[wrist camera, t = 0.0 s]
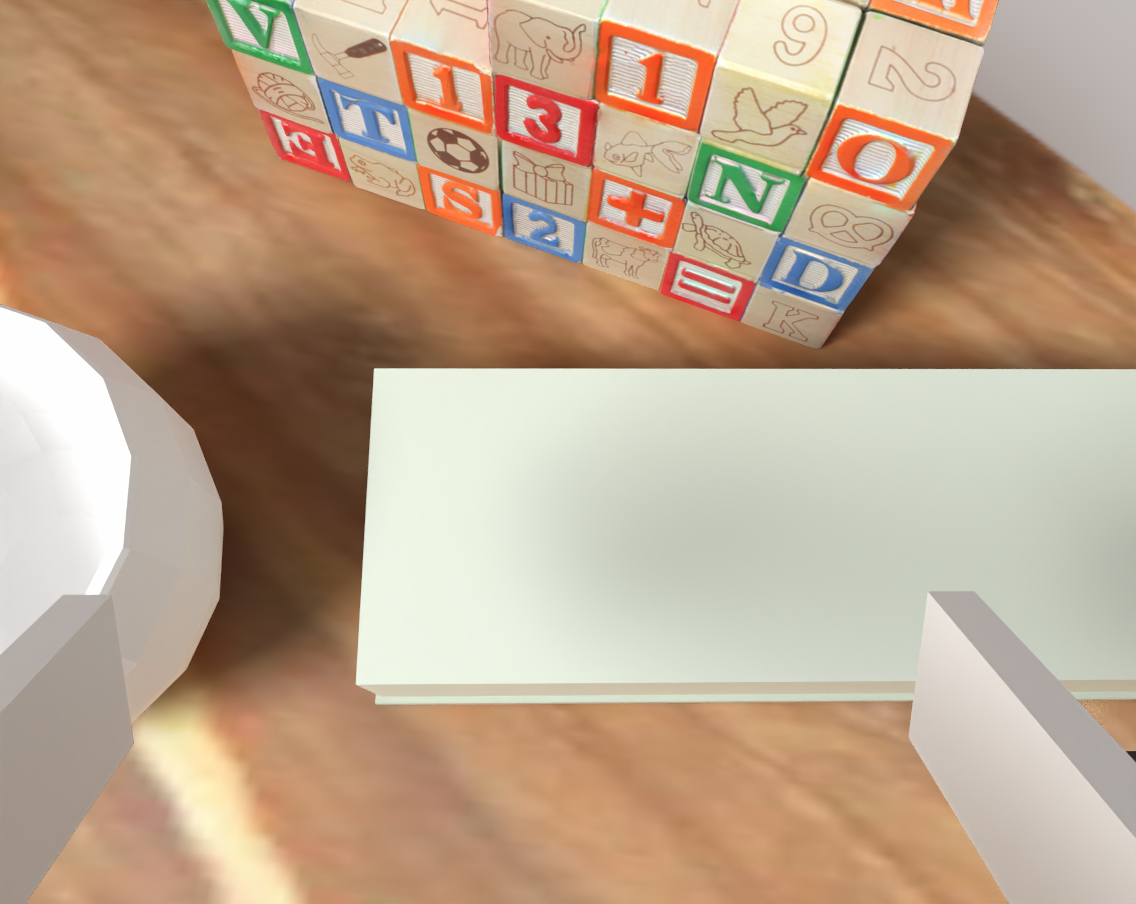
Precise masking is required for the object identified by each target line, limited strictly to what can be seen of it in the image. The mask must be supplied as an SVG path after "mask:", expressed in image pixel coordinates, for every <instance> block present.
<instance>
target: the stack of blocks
mask: <svg viewBox="0 0 1136 904" xmlns="http://www.w3.org/2000/svg"><path fill="white" fill-rule="evenodd" d="M998 1H999V0H206V2H207V4H208V6H209V9H210V11H211V14H212V16H213V18H214V20H215V22H216V24H217V27H218V29H219V32H220V34H221V36H222V38H223V41H224V43H225V44H226V46H227V47H229V48H230V49H232V53H233V55H234V58H235V61H236V63H237V66H238V68H239V71H240V73H241V75H242V77H243V80H244V82H245V85H246V87H247V89H248V92H249V94H250V96H251V99H252V102H253V104H254V106H255V107H257V108H258V110H259V113H260V116H261V119H262V121H263V123H264V126H265V128H266V131H267V134H268V136H269V138H270V140H271V143H272V145H273V147H274V149H275V151H276V153H277V155H278V157H279V158H280V159H283V160H285V161H289V162H292V163H295V164H298V165H301V166H304V167H307V168H310V169H313V170H316V171H319V172H322V173H325V174H328V175H331V176H333V177H337V178H340V179H343V180H345V181H352V182H353V183H354V185H355V186H356V187H358V188H361V189H364V190H367V191H370V192H373V193H375V194H378V195H381V196H384V197H387V198H390V199H393V200H395V201H398V202H401V203H404V204H407V205H410V206H413V207H416V208H419V209H425V210H428V211H429V212H431V213H433V214H435V215H438V216H440V217H443V218H446V219H449V220H452V221H455V222H457V223H460V224H463V225H466V226H468V227H471V228H474V229H476V230H479V231H482V232H485V233H488V234H491V235H493V236H496V237H503V236H505V237H506V238H508V239H511V240H513V241H516V242H519V243H522V244H525V245H528V246H531V247H534V248H536V249H539V250H542V251H545V252H548V253H551V254H553V255H556V256H559V257H562V258H565V259H568V260H570V261H573V262H575V263H583V264H585V265H587V266H589V267H592V268H595V269H597V270H600V271H603V272H606V273H609V274H612V275H615V276H617V277H620V278H623V279H626V280H629V281H632V282H635V283H638V284H640V285H643V286H646V287H649V288H652V289H656V290H658V291H660V293H662V294H663V295H666V296H669V297H672V298H675V299H677V300H680V301H683V302H686V303H689V304H692V305H694V306H697V307H700V308H703V309H706V310H708V311H711V312H714V313H717V314H720V315H723V316H725V317H728V318H731V319H734V320H737V321H741V322H743V323H744V324H746V325H749V326H752V327H755V328H757V329H760V330H763V331H766V332H769V333H771V334H774V335H777V336H780V337H783V338H785V339H788V340H791V341H794V342H797V343H800V344H802V345H805V346H808V347H811V348H814V349H820V348H821V347H822V346H823V344H824V343H825V341H826V340H827V338H828V337H829V335H830V333H831V332H832V330H833V329H834V328H835V327H836V325H837V323H838V322H839V320H840V319H841V317H842V315H843V314H844V311H845V309H846V308H847V307H848V306H849V304H850V303H851V302H852V300H853V299H854V297H855V296H856V295H857V293H858V292H859V290H860V289H861V288H862V286H863V285H864V283H865V282H866V281H867V279H868V278H869V276H870V275H871V274H872V272H873V271H874V269H875V267H876V266H878V265H880V263H881V262H882V261H883V259H884V258H885V256H886V255H887V254H888V253H889V252H890V250H891V248H892V246H893V245H894V243H895V242H896V241H897V240H898V238H899V236H900V235H901V233H902V232H903V231H904V230H905V228H906V226H907V225H908V223H909V221H910V220H911V219H912V217H913V215H914V213H915V211H916V208H917V204H918V201H919V197H920V196H921V194H922V193H923V192H924V190H925V189H926V187H927V186H928V184H929V183H930V181H931V180H932V178H933V177H934V175H935V174H936V172H937V171H938V170H939V168H940V167H941V165H942V164H943V162H944V161H945V159H946V158H947V156H948V155H949V153H950V152H951V150H952V149H953V148H954V146H955V145H956V142H957V140H958V137H959V134H960V130H961V127H962V123H963V120H964V117H965V113H966V110H967V107H968V103H969V100H970V97H971V94H972V90H973V87H974V84H975V80H976V77H977V74H978V71H979V68H980V65H981V62H982V58H983V55H984V48H983V45H984V43H985V41H986V39H987V37H988V34H989V31H990V29H991V25H992V22H993V18H994V15H995V11H996V8H997V5H998Z"/></svg>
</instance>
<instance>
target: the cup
mask: <svg viewBox="0 0 1136 904" xmlns="http://www.w3.org/2000/svg"><path fill="white" fill-rule="evenodd" d="M223 528H224V527H223V514H222V502H221V500H220V497H219V495H218V492H217V489H216V487H215V484H214V482H213V479H212V476H211V474H210V471H209V469H208V466H207V463H206V461H205V458H204V455H203V453H202V450H201V448H200V445H199V442H198V440H197V437H196V435H195V432H194V429H193V428H192V427H191V426H190V425H189V424H188V423H187V422H186V421H185V420H184V419H183V418H182V417H181V416H180V415H179V414H178V413H177V412H176V411H175V410H174V409H173V408H172V407H170V406H169V405H168V404H167V403H166V402H165V401H164V400H163V399H162V398H161V397H160V396H159V395H158V394H157V393H156V392H155V391H154V390H153V389H152V388H151V387H150V386H149V385H148V384H147V383H146V382H145V381H143V380H142V379H141V378H140V377H139V376H138V375H137V374H136V373H135V372H134V371H133V370H132V369H131V368H130V367H129V366H128V365H127V364H126V363H125V362H123V361H122V360H121V359H120V358H119V357H118V356H117V355H116V354H115V353H114V352H113V351H112V350H111V349H110V348H109V347H108V346H107V345H106V344H104V343H103V342H102V341H101V340H100V339H98V338H95V337H93V336H90V335H87V334H84V333H81V332H79V331H76V330H73V329H70V328H67V327H64V326H62V325H59V324H56V323H53V322H50V321H48V320H45V319H42V318H39V317H36V316H33V315H30V314H27V313H25V312H22V311H19V310H16V309H13V308H10V307H7V306H4V305H1V304H0V655H1V654H2V653H3V652H4V651H5V650H6V649H7V648H8V647H9V646H10V645H11V644H12V643H13V642H14V641H15V640H16V639H17V638H18V637H19V636H20V635H22V634H23V633H24V632H25V631H26V630H27V629H28V628H29V627H30V626H31V625H32V624H33V623H34V622H35V621H36V620H37V619H38V618H39V617H40V616H41V615H42V614H44V613H45V612H46V611H47V610H48V609H49V608H50V607H51V606H52V605H53V604H54V603H55V602H56V601H57V600H58V599H59V598H60V597H61V596H62V595H110V594H112V599H113V606H114V612H115V619H116V626H117V632H118V639H119V646H120V652H121V659H122V666H123V672H124V679H125V686H126V692H127V699H128V706H129V712H130V719H131V724H132V723H133V722H134V721H135V720H136V719H137V718H138V717H139V716H140V715H141V714H142V713H143V712H144V711H145V710H146V709H147V708H148V707H149V706H150V705H151V704H152V703H153V702H154V701H155V700H156V699H157V698H158V697H159V696H160V695H161V694H162V693H163V692H164V691H165V690H166V689H167V688H168V687H169V686H170V685H171V684H172V683H173V682H174V681H175V680H176V679H177V678H178V677H179V676H180V675H181V674H182V673H183V672H184V671H185V670H186V669H187V667H188V665H189V663H190V661H191V659H192V657H193V655H194V652H195V650H196V648H197V646H198V644H199V642H200V640H201V637H202V635H203V633H204V631H205V629H206V627H207V625H208V623H209V620H210V618H211V616H212V614H213V612H214V610H215V608H216V605H217V603H218V601H219V598H220V581H221V563H222V546H223Z"/></svg>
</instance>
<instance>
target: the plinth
mask: <svg viewBox="0 0 1136 904" xmlns="http://www.w3.org/2000/svg"><path fill="white" fill-rule="evenodd" d="M928 591H975V592H976V593H977V595H978V596H979V597H980V598H981V599H982V600H983V601H984V602H985V603H986V604H987V605H988V606H989V607H990V608H991V609H992V610H993V611H994V613H995V614H996V615H997V616H998V617H999V618H1000V619H1001V620H1002V621H1003V622H1004V623H1005V624H1006V625H1007V626H1008V627H1009V628H1010V629H1011V631H1012V632H1013V633H1014V634H1015V635H1016V636H1017V637H1018V638H1019V639H1020V640H1021V641H1022V642H1023V643H1024V644H1025V645H1026V646H1027V648H1028V649H1029V650H1030V651H1031V652H1032V653H1033V654H1034V655H1035V656H1036V657H1037V658H1038V659H1039V660H1040V661H1041V662H1042V663H1043V664H1044V666H1045V667H1046V668H1047V669H1048V670H1049V671H1050V672H1051V673H1052V674H1053V675H1054V676H1055V677H1056V678H1057V679H1058V680H1059V681H1060V682H1061V684H1062V685H1063V686H1064V687H1065V688H1066V689H1067V690H1068V691H1069V692H1070V693H1071V694H1072V695H1073V696H1074V697H1075V698H1076V699H1077V700H1136V369H409V368H374V379H373V396H372V413H371V431H370V448H369V465H368V482H367V500H366V517H365V534H364V552H363V569H362V586H361V604H360V621H359V638H358V655H357V673H356V685H358V686H360V687H362V688H364V689H366V690H368V691H371V692H373V693H375V694H376V701H375V704H377V705H456V704H601V703H746V702H891V701H913V699H914V692H915V684H916V676H917V669H918V661H919V654H920V646H921V639H922V631H923V623H924V616H925V608H926V601H927V593H928Z"/></svg>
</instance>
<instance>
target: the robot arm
mask: <svg viewBox="0 0 1136 904" xmlns="http://www.w3.org/2000/svg"><path fill="white" fill-rule="evenodd" d="M908 738H909V739H910V741H911V743H912V744H913V746H914V748H915V749H916V751H917V752H918V754H919V756H920V757H921V759H922V761H923V762H924V764H925V766H926V767H927V769H928V771H929V772H930V774H931V776H932V777H933V779H934V781H935V782H936V784H937V786H938V787H939V789H940V790H941V792H942V794H943V795H944V797H945V799H946V800H947V802H948V804H949V805H950V807H951V809H952V810H953V812H954V814H955V815H956V817H957V819H958V820H959V822H960V824H961V825H962V827H963V829H964V830H965V832H966V833H967V835H968V837H969V838H970V840H971V842H972V843H973V845H974V847H975V848H976V850H977V852H978V853H979V855H980V857H981V858H982V860H983V862H984V863H985V865H986V867H987V868H988V870H989V871H990V873H991V875H992V876H993V878H994V880H995V881H996V883H997V885H998V886H999V888H1000V890H1001V891H1002V893H1003V895H1004V896H1005V898H1006V900H1007V901H1008V903H1009V904H1136V751H1125V750H1124V749H1123V748H1122V747H1121V746H1120V745H1119V744H1118V743H1117V742H1116V741H1115V740H1114V739H1113V738H1112V737H1111V735H1110V734H1109V733H1108V732H1107V731H1106V730H1105V729H1104V728H1103V727H1102V726H1101V725H1100V724H1099V723H1098V722H1097V721H1096V720H1095V719H1094V717H1093V716H1092V715H1091V714H1090V713H1089V712H1088V711H1087V710H1086V709H1085V708H1084V707H1083V706H1082V705H1081V704H1080V703H1079V702H1078V700H1077V699H1076V698H1075V697H1074V696H1073V695H1072V694H1071V693H1070V692H1069V691H1068V690H1067V689H1066V688H1065V687H1064V686H1063V685H1062V684H1061V682H1060V681H1059V680H1058V679H1057V678H1056V677H1055V676H1054V675H1053V674H1052V673H1051V672H1050V671H1049V670H1048V669H1047V668H1046V667H1045V666H1044V664H1043V663H1042V662H1041V661H1040V660H1039V659H1038V658H1037V657H1036V656H1035V655H1034V654H1033V653H1032V652H1031V651H1030V650H1029V649H1028V648H1027V646H1026V645H1025V644H1024V643H1023V642H1022V641H1021V640H1020V639H1019V638H1018V637H1017V636H1016V635H1015V634H1014V633H1013V632H1012V631H1011V629H1010V628H1009V627H1008V626H1007V625H1006V624H1005V623H1004V622H1003V621H1002V620H1001V619H1000V618H999V617H998V616H997V615H996V614H995V613H994V611H993V610H992V609H991V608H990V607H989V606H988V605H987V604H986V603H985V602H984V601H983V600H982V599H981V598H980V597H979V596H978V595H977V593H976V592H975V591H928V593H927V601H926V608H925V616H924V623H923V631H922V639H921V646H920V654H919V661H918V669H917V676H916V684H915V692H914V699H913V707H912V714H911V722H910V729H909V737H908ZM133 744H134V739H133V732H132V726H131V719H130V712H129V706H128V699H127V692H126V686H125V679H124V672H123V666H122V659H121V652H120V646H119V639H118V632H117V626H116V619H115V612H114V606H113V599H112V594H110V595H62V596H61V597H60V598H59V599H58V600H57V601H56V602H55V603H54V604H53V605H52V606H51V607H50V608H49V609H48V610H47V611H46V612H45V613H44V614H42V615H41V616H40V617H39V618H38V619H37V620H36V621H35V622H34V623H33V624H32V625H31V626H30V627H29V628H28V629H27V630H26V631H25V632H24V633H23V634H22V635H20V636H19V637H18V638H17V639H16V640H15V641H14V642H13V643H12V644H11V645H10V646H9V647H8V648H7V649H6V650H5V651H4V652H3V653H2V654H1V655H0V904H26V903H27V901H28V900H29V899H30V897H31V896H32V894H33V893H34V891H35V890H36V888H37V887H38V885H39V884H40V882H41V881H42V879H43V878H44V876H45V875H46V873H47V872H48V870H49V869H50V867H51V866H52V864H53V863H54V861H55V860H56V858H57V857H58V856H59V854H60V853H61V851H62V850H63V848H64V847H65V845H66V844H67V842H68V841H69V839H70V838H71V836H72V835H73V833H74V832H75V830H76V829H77V827H78V826H79V824H80V823H81V821H82V820H83V818H84V817H85V815H86V814H87V812H88V811H89V810H90V808H91V807H92V805H93V804H94V802H95V801H96V799H97V798H98V796H99V795H100V793H101V792H102V790H103V789H104V787H105V786H106V784H107V783H108V781H109V780H110V778H111V777H112V775H113V774H114V772H115V771H116V769H117V768H118V766H119V765H120V764H121V762H122V761H123V759H124V758H125V756H126V755H127V753H128V752H129V750H130V749H131V747H132V746H133Z"/></svg>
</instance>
